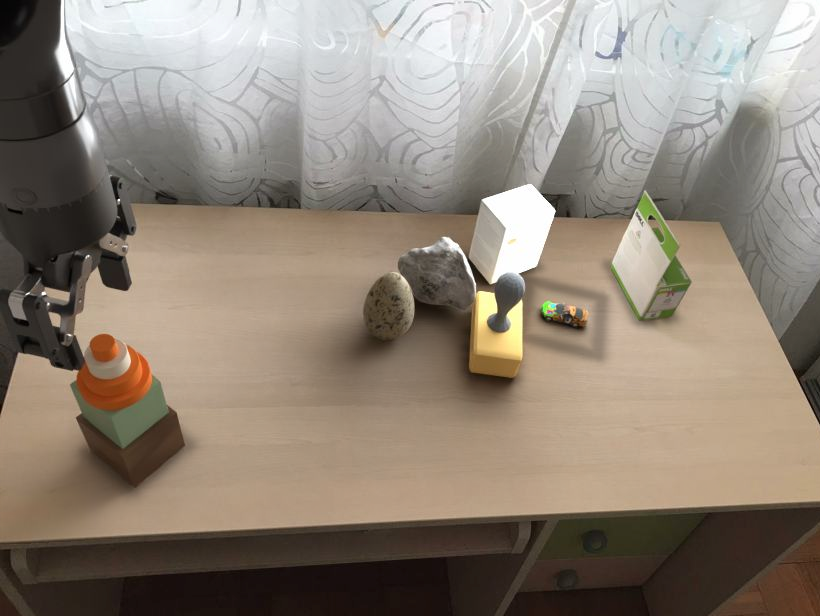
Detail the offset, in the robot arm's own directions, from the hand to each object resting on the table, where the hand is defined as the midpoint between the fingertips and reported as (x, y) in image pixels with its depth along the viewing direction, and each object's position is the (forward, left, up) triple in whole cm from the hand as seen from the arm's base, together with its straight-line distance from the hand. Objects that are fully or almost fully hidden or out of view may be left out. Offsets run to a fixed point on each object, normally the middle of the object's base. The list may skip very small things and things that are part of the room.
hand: (95, 324), depth 60 cm
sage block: (0, 0, -14) cm, 14 cm away
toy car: (+47, -24, -20) cm, 56 cm away
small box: (+49, -13, -20) cm, 55 cm away
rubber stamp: (+37, -20, -20) cm, 46 cm away
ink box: (+58, -30, -20) cm, 68 cm away
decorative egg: (+29, -9, -20) cm, 37 cm away
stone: (+37, -10, -20) cm, 43 cm away
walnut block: (0, 0, -20) cm, 20 cm away
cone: (0, 0, -8) cm, 8 cm away
